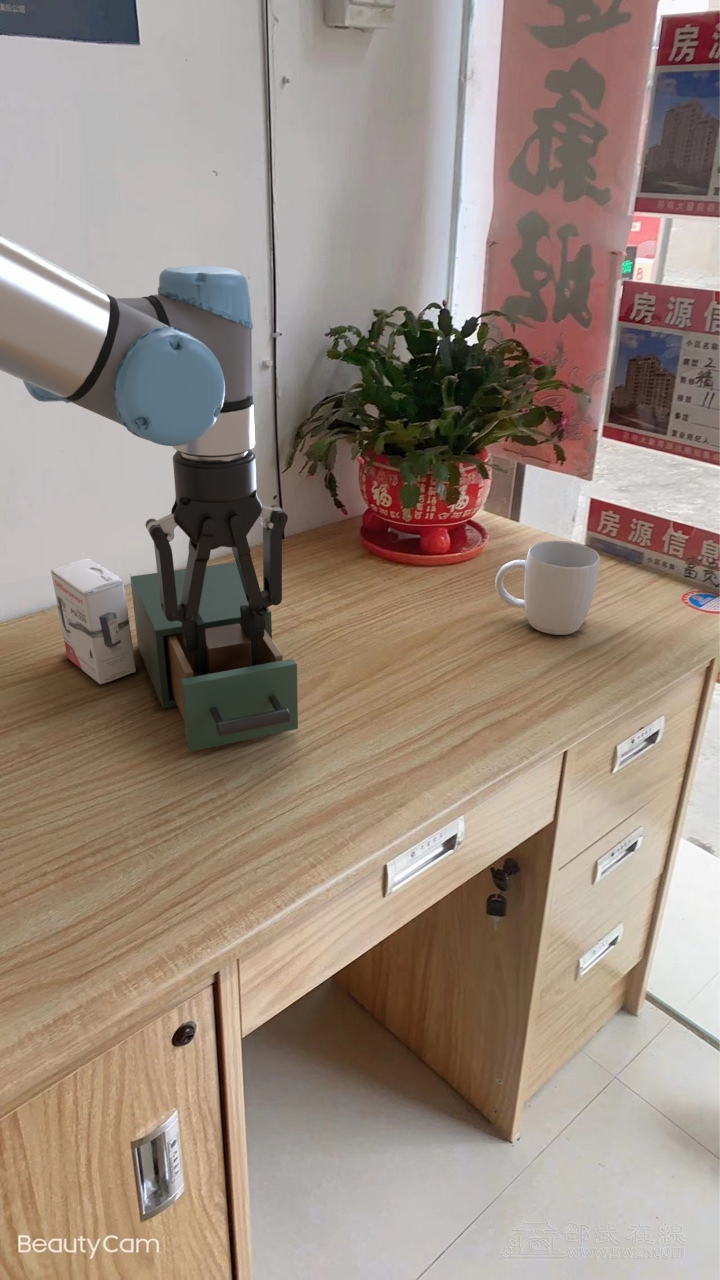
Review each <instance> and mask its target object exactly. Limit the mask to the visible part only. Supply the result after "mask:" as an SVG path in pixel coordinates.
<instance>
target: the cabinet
mask: <svg viewBox="0 0 720 1280" xmlns="http://www.w3.org/2000/svg"><path fill="white" fill-rule="evenodd" d="M185 573H186V568H181V569H174V575H175V585H176V595H177V604H180V603H181V597H182V591H183V585H184V579H185ZM129 578H130V587H131V588H130V589H131V596H132V605H133V613H134V623H135V631H136V641H137V649H138V651H139V654H140V656H141V658H142V661H143V664H144V666H145V668H146V670H147V673H148V676H149V678H150V680H151V683H152V685H153V688H154V691H155V693H156V696H157V698H158V700H159V703H160V705H161V708H162V709H168V708H169V709H170V708H174V707H178V705H177V703H176V701H175V698H174V696H173V694H172V691H171V689H170V687H169V685H168V681H167V670H166V660H165V650H164V639H163V636H166V635H172V634H178V633H182V623H181V622H180V621H173V622H170V621H168V620H167V619H166V617H165V615H164V613H163V610H162V608H161V602H160V593H159V584H158V575H157V572H153V573H146V574H139V575H131V576H130V577H129ZM244 605H248V602H247V599H246V595H245V592H244V589H243V585H242V582H241V578H240V575H239V571H238V568H237V565H236V561H232V562H225V563H217V564H210V565H206V571H205V577H204V583H203V588H202V594H201V600H200V606H199V611H198V613H199V614H200V616H201V618H202V620H203V621H204V623H205V629H207V628H213V627H219V626H226V625H232V624H239V623H241V615H240V606H244ZM266 609H267V614H266V615H265V616H264V629H265V631H266V632H267V634H268V635H269V637H270V638H271V639H272V640H273V626H272V625H273V624H272V611H271V610H270V608H269V607H268V608H266Z"/></svg>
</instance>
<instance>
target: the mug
mask: <svg viewBox="0 0 720 1280" xmlns="http://www.w3.org/2000/svg"><path fill="white" fill-rule="evenodd" d="M526 555H527V556H526V559H525V560H524V559H515V560H511V561H509V562H506V563H505V564H504V565H502V566H501V568H500V569H499V570H498V572H496V576H495V582H494V586H495V590H496V593H497V595H498V597H499V599H500V600H501V601H503V602H504V603H505V604H506V605H508V606H510V607H513V608H516V609H524V610H525V614H526V619H527V621H528V624H529V625H530V626H531V627H532V628H533V629H535V630H536V631H538V632H542V633H545V634H549V635H555V636H565V635H570V634H574V633H575V632H576V631H578V630H579V629H580V628H581V626H582V625H583V624H584V622H585V620H586V617H587V615H588V613H589V611H590V609H591V605H592V601H593V599H594V596H595V592H596V586H597V584H598V583H597V582H598V577H599V570H600V561H601V557H600V554H599V553H598V552H597V551H596V550H595V549H593V548H591V547H589V546H587V545H584V544H581V543H577V542H573V541H566V540H545V541H544V540H543V541H540V542H537V543H534V544H532V546H531V547H530V548H529V549H528V552H527V554H526ZM514 570H524V581H523V583H524V584H523V592H524V593H523V598H524V599H522V598H517V597H515V596H513V595H511V594H510V593H509V592H508V591H507V590H506V589H505V586H504V580H505V577H506V575H508V574H509V573H510V572H511V571H514Z"/></svg>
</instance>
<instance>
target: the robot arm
mask: <svg viewBox="0 0 720 1280" xmlns="http://www.w3.org/2000/svg"><path fill="white" fill-rule="evenodd" d="M251 307H252V306H251V297H250V291H249V284H248V281H247V278H246V277H245V276H244V274H243V273H241V272H240V271H239V270H236V269H233V268H231V267H221V266H209V265H208V266H207V265H189V266H188V265H187V266H179V267H168V268H165V269H163V270H162V271H161V272H160V274H159V278H158V288H157V294H150V295H148V296H141V297H121V298H119V297H118V298H117V297H114V296H112V295H110V294H108V293H107V292H106V291H105V290H103V289H101V288H100V287H98V286H96V285H94V284H92V283H91V282H88V281H87V280H85V279H83V278H81V277H79V276H77V275H76V274H73V273H72V272H70V271H68V270H66V269H64V268H63V267H61V266H59V265H57V264H55V263H53V262H51V261H50V260H48V259H46V258H45V257H43V256H40V255H39V254H37V253H35V252H34V251H32V250H31V249H28V248H26V247H25V246H23V245H21V244H19V243H17V242H15V241H13V240H11V239H10V238H9V237H6V236H4V235H2V234H0V371H1V372H3V373H6V374H8V375H10V376H13V377H14V378H17V379H20V380H22V382H23V384H24V386H25V388H26V390H27V392H28V393H29V396H31V397H32V398H34V399H35V400H37V401H38V402H43V403H44V402H45V403H49V402H50V403H51V402H64V403H66V404H69V403H72V404H74V405H77V406H78V407H81V408H82V409H86V410H87V411H90V412H92V413H94V414H97V415H99V416H102V417H103V418H105V419H108V420H111V421H113V422H114V423H117V424H119V425H121V426H123V427H125V428H126V429H127V431H128V432H130V433H131V434H132V435H134V436H136V437H138V438H140V439H142V440H146V441H149V442H151V443H153V444H157V445H160V446H166V447H172V448H173V449H174V450H175V453H174V454H173V455H172V465H173V478H174V493H175V494H174V495H175V500H174V502H173V503H174V504H173V506H172V507H171V511H170V512H171V513H169V514H167V515H165V516H163V517H161V518H159V519H156V518H149V519H148V520H146V522H145V528H146V530H147V532H148V534H149V536H150V538H151V540H152V542H153V546H154V554H155V555H154V556H155V564H156V573H157V575H158V584H159V593H160V602H161V608H162V610H163V613H164V615H165V617H166V619H167V620H168V621H170V622H173V621H180V622H181V623H182V636H183V643H184V644H185V646H186V648H187V650H188V652H190V651H194V661H195V670H196V672H197V674H198V676H201V675H206V674H208V668H207V653H206V633H205V623H204V621H203V620H202V618H201V616H200V614H199V613H198V611H199V606H200V600H201V594H202V588H203V583H204V577H205V571H206V566H208V561H209V560H210V558H211V557H210V556H211V552H212V550H213V551H214V550H216V549H219V548H221V547H222V548H231V550H232V555H233V558H234V562H235V563H236V565H237V568H238V571H239V575H240V578H241V582H242V585H243V589H244V592H245V595H246V599H247V602H248V605H244V606H240V615H241V627H242V629H243V630H244V632H245V634H246V635H247V637H248V638H249V640H250V641H251V660H252V666H255V665H257V664H256V640H260V639H263V637H264V616H265V615H266V614H267V609H266V608H269V607H271V606H279V605H280V604H281V603H282V601H283V535H284V531H285V528H286V525H287V523H288V519H289V516H288V514H287V513H286V511H284V510H283V509H282V507H280V506H279V505H277V504H272V505H267V504H263V503H262V502H261V500H260V499H259V497H258V494H257V493H258V492H257V466H256V465H257V463H256V454H255V452H254V451H253V450H252V449H253V448H255V445H256V433H255V431H256V430H255V429H256V428H255V410H254V407H255V406H254V389H253V386H254V385H253V335H252V332H253V331H252V330H254V323H253V319H252V308H251ZM259 518H260V519H259ZM258 519H259V523H260V524H261V526H262V580H263V581H262V583H263V585H262V586H263V590H261V587H260V584H259V580H258V577H257V573H256V569H255V565H254V562H253V559H252V555H251V548H250V544H249V541H248V538H247V536H248V534H249V533H250V531H251V530H252V528H253V526H254V525H255V524H256V522H257V521H258ZM176 527H179V528H180V529H181V531H183V533H184V534H185V535H186V536H187V537H188V538H189V540H188V555H187V561H186V568H185V569H186V573H185V579H184V585H183V591H182V597H181V603H180V604H177V595H176V585H175V575H174V570H175V566H174V558H173V549H172V546H171V544H170V542H172V541H173V540H174V538H175V529H176Z"/></svg>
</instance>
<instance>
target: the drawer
mask: <svg viewBox="0 0 720 1280" xmlns="http://www.w3.org/2000/svg"><path fill="white" fill-rule="evenodd" d="M239 624H240V626H241V623H239ZM163 639H164V650H165V660H166V670H167V681H168V685H169V687H170V689H171V691H172V694H173V696H174V698H175V701H176V703H177V705H178V706H177V707H178V711H179V712H180V714H181V716H182V719H183V722H184V732H185V741H186V743H185V744H186V747H187V750H188V752H189V753H191V752H196V751H201V750H205V749H209V748H215V747H219V746H224V745H228V744H233V743H238V742H242V741H248V740H252V739H257V738H261V737H262V738H263V737H267V736H271V735H276V734H281V733H285V732H289V731H294V730H298V729H299V716H298V715H299V707H298V703H299V700H298V698H299V697H298V663H297V662H296V661H295V659H294V658H288V659H284V658H283V654H282V653H281V651H280V649H279V648H278V647H277V645H276V644H275V642H274V641H273V638H272V639H271V638H270V637H269V635H268V634H267V632H266V631H265V629H264V637H263V639H260V640H256V664H257V665H255V666H250V667H244V668H239V669H233V670H228V671H222V672H217V673H212V674H206V675H201V676H198V674H197V672H196V670H195V661H194V651H190V652H188V650H187V648H186V646H185V644H184V643H183V636H182V633H178V634H172V635H166V636H163Z"/></svg>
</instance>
